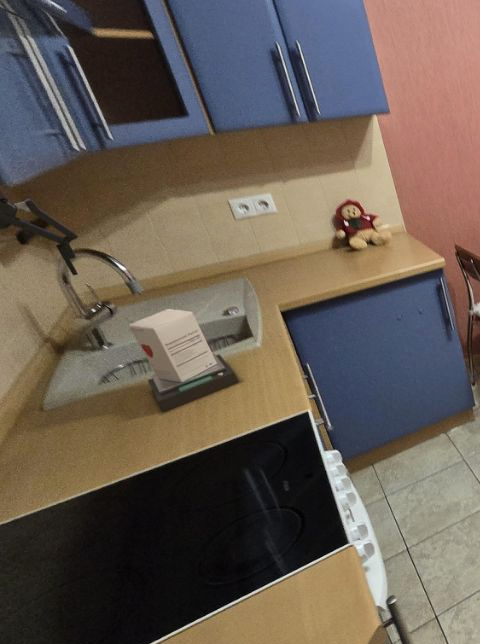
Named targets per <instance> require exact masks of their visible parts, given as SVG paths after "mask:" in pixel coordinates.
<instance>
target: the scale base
mask: <svg viewBox="0 0 480 644" xmlns="http://www.w3.org/2000/svg"><path fill="white" fill-rule="evenodd" d="M215 355H216V357H217V358H218V359H219V360H220V362H221V363H222V364H223V365H224V367H225V368H226V370H224V371H221V372H219V373H216V374H213V375H211V376H208V377H206V378H203V379H200V380H198V381H195V382H192V383H190V384H187V385H185V386H182V387H179V388H177V389H174V390H171V391H169V392H166V393H163V394H160V392H159V390H158V388H157V386H156V384H155V382H154V380H153V378H152V377H151V378H150V379H147V382H148V384H149V386H150V388H151V391H152V392H153V395H154V396H155V398H156V401H157V403H158V404H159V406H160V408H161V410H162V411H163V413H166V412H167V411H170V410H173V409H175V408H178V407H181V406H183V405H185V404H188V403H190V402H193V401H195V400H198V399H200V398H203V397H205V396H208V395H210V394H213V393H215V392H216V393H217V392H218V391H220V390H223V389H225V388H228V387H231V386H233V385H235V384H238V383H239V379H238V377H237V376H236V372H234V370H233V369H232V368H231V367H230V365H229V364H228V363H227V361H226V360H225V359H224V357H223V356H222V355H221V354H219V353H218V354H215Z"/></svg>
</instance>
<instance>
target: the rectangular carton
mask: <svg viewBox="0 0 480 644" xmlns="http://www.w3.org/2000/svg"><path fill="white" fill-rule="evenodd" d="M128 327H129V329H130V330H131V332H132V334H133V336H134V338H135V340H136V342H137V343H138V346H140V348H141V351H142V352H143V354H144V356H145V357H146V359H147V361H148V364H149V365H150V367H151V369H152V371H153V372H154V375H155V374H156V376H157V377H158V378H159V379H165V380H170V381H176V382H184V381H186V380H188V379H190V378H191V377H193V376H195V375H197V374H199V373H201V372H203V371H205V370H206V369H208V368H210V367H212V366H214V365H216V364H217V362H216V360H215V358H214V356H213V352H212V350H211V348H210V346H209V344H208V341H207V340H206V338H205V335H204V333H203V332H202V330H201V328H200V325H199V323H198V321H197V318H196V317H195V315H194V313H193V312H192V311H188V310H182V309H170V308H166V309H164V310H161V311H159V312H157V313H154V314H152V315H149V316H147V317H144V318H142V319H139V320H136V321H134V322H132V323H130V324H128Z"/></svg>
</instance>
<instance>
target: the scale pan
mask: <svg viewBox="0 0 480 644" xmlns="http://www.w3.org/2000/svg"><path fill="white" fill-rule="evenodd" d="M212 354H213V356H214V358H215V360H216V362H217V364H216V365H214V366H212V367H210V368H208V369H206V370H205V371H203V372H201V373H199V374H197V375H195V376H193V377H191V378H190V379H188V380H186V381H184V382H176V381H170V380H165V379H159V378H158V377H157V376H156V374H155V373H154V374H152V375H151V379H152V378H153V380H154V382H155V384H156V386H157V388H158V390H159V392H160V394H163V393H166V392H169V391H171V390H174V389H177V388H179V387H182V386H185V385H187V384H190V383H192V382H195V381H198V380H200V379H203V378H206V377H208V376H211V375H213V374H216V373H219V372H221V371H224V370H226V368H225V367H224V365H223V364H222V363H221V362H220V360H219V359H218V358H217V357H216V355H217V354H215V353H213V352H212Z"/></svg>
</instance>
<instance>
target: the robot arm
mask: <svg viewBox="0 0 480 644" xmlns="http://www.w3.org/2000/svg"><path fill="white" fill-rule="evenodd" d="M18 210H23V211H24V212H26V213H32V214H33V215H35V217H37V218H38V219H41V220H42V221H43V222H45V223H46V224H48V225H49V226H51V227H53V229H55V230H57V231H59V232H60V233H62V234H63V236H61V235H59V234H57V233H54V232H52V231H50V230H47V229H45V228H42V227H40V226H37V225H35V224H33V223H30V222H28V221H26V220H24V219H22V218H20V217H17V213H18ZM11 226H15V227H16V228H19V229H23V230H25V231H28V232H30V233H32V234H35V235H38V236H41V237H43V238H45V239H47V240H50V241H52V242H55V243H57V244H56V245H55V246H56V249H57V251H58V252H59V253H60V256H61V257H62V260H63V261H64V262H65V264H66V266H67V267H68V269H69V271H70V273H71V274H72V276H73V277H74V276H78V275H79V273H78V271H77V269H76V268H75V266H74V264H73V262H72V261H71V260H72V259H76V253H75V252H74V250H73V248H72V247H71V245H70V243H71V242H72V241H74V240H77V238H78V234H77V233H76V232H75V231H73V230H72V229H70V228H69V227H67V226H66V225H64V224H63V223H61V222H60V221H58V220H57V219H55V218H54V217H52V216H51V215H50V214H48V213H47V212H45V211H43V210H42V209H40V207H39V206H38V205H37V203H36V202H35V201H34V200H33V199H32V198H27V199H25V200H24V201H20V202H16V203H13V202H12V201H11V200H10V199H9V198H8V196H7V194H6V193H5V190H4V189H3V188H2V185H0V230H5V229H8V228H10V227H11Z"/></svg>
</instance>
